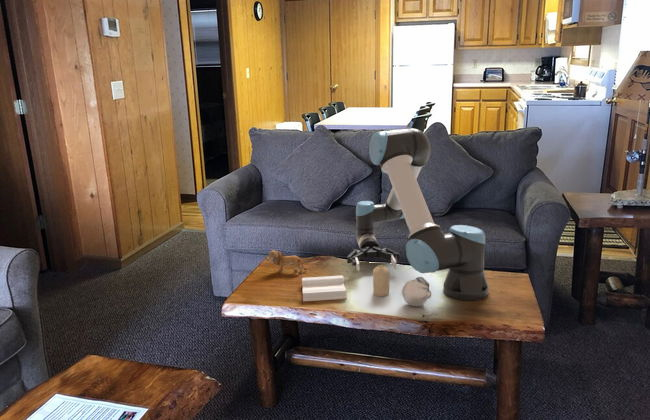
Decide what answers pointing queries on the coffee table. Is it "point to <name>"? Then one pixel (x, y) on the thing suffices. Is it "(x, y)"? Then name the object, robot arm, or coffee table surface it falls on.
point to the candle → (381, 280)
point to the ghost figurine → (416, 292)
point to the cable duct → (323, 288)
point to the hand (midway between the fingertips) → (376, 266)
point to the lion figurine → (285, 260)
